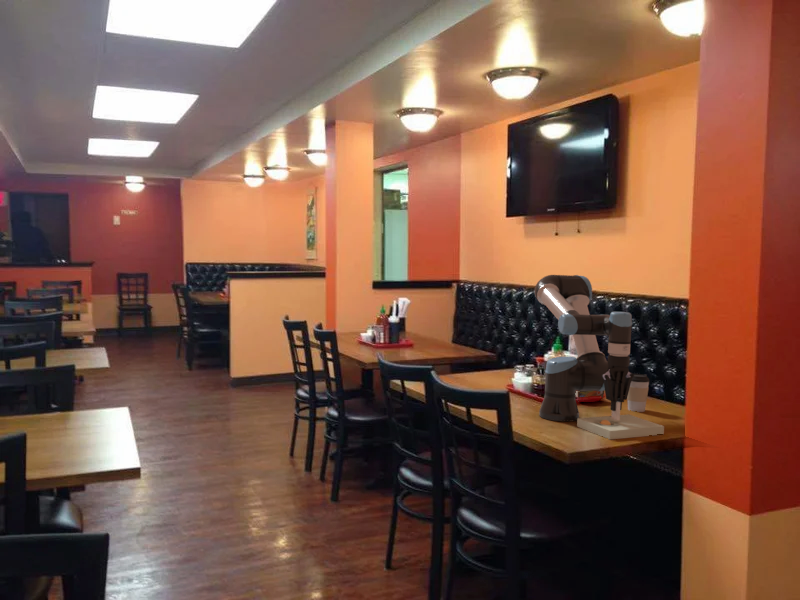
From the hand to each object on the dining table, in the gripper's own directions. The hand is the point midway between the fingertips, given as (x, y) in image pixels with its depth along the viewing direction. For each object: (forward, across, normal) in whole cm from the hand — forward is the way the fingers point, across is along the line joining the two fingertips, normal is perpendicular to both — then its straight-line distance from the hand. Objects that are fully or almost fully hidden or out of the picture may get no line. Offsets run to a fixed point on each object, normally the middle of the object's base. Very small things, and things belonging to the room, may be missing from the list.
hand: (615, 419), depth 237 cm
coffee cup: (+4, +32, +26) cm, 41 cm away
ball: (+2, -4, 0) cm, 5 cm away
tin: (+4, +22, +43) cm, 49 cm away
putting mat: (+4, +2, 0) cm, 5 cm away
